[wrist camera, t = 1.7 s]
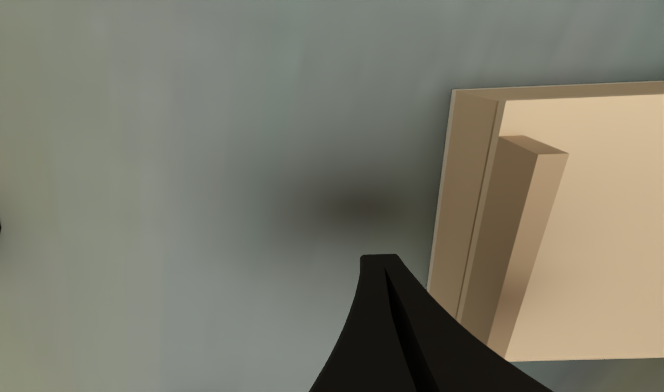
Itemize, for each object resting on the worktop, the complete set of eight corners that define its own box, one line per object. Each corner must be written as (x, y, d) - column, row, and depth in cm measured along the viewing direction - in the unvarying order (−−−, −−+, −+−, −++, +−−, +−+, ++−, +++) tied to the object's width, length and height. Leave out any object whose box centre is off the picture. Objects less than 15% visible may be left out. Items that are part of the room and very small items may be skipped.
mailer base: (676, 80, 13) (807, 88, 9) (587, 286, 18) (651, 343, 15) (451, 89, 13) (497, 101, 10) (426, 291, 18) (449, 348, 15)
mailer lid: (827, 85, 9) (982, 93, 7) (658, 350, 14) (716, 401, 12) (499, 99, 9) (549, 111, 7) (449, 355, 15) (470, 407, 12)
